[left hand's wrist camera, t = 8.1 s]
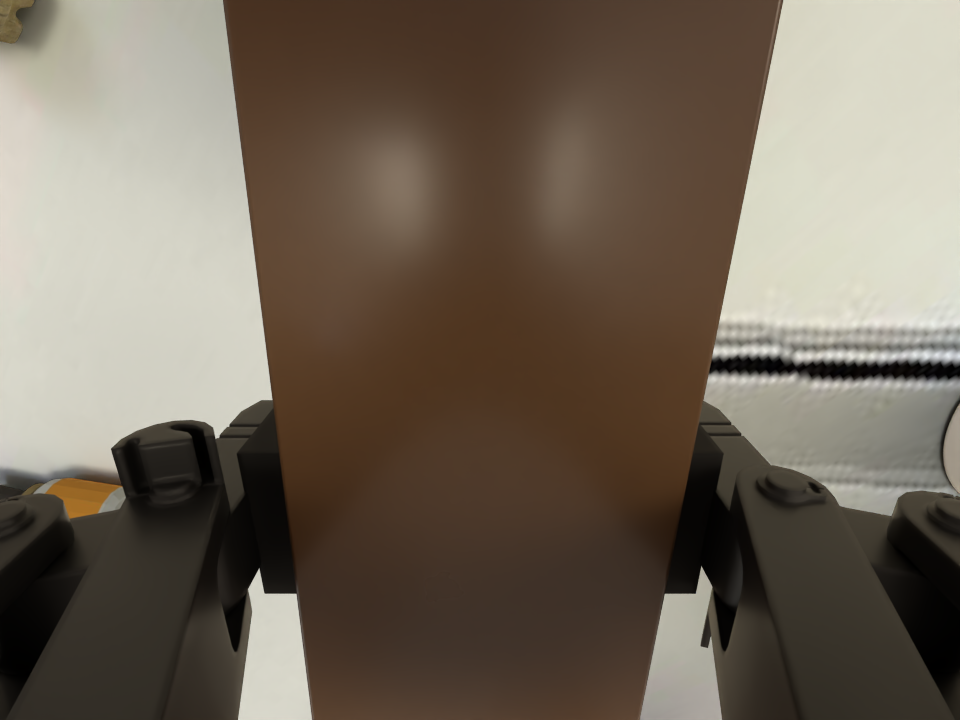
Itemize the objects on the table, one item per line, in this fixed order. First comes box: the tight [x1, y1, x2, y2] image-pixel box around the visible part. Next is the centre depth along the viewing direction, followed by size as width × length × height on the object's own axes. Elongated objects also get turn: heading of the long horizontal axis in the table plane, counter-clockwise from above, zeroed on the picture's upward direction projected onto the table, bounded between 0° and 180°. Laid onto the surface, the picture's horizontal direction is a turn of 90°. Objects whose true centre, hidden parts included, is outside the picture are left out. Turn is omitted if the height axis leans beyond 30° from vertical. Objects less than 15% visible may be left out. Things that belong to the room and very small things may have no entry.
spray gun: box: [0, 478, 126, 518], centre depth 39 cm, size 4×17×15 cm
